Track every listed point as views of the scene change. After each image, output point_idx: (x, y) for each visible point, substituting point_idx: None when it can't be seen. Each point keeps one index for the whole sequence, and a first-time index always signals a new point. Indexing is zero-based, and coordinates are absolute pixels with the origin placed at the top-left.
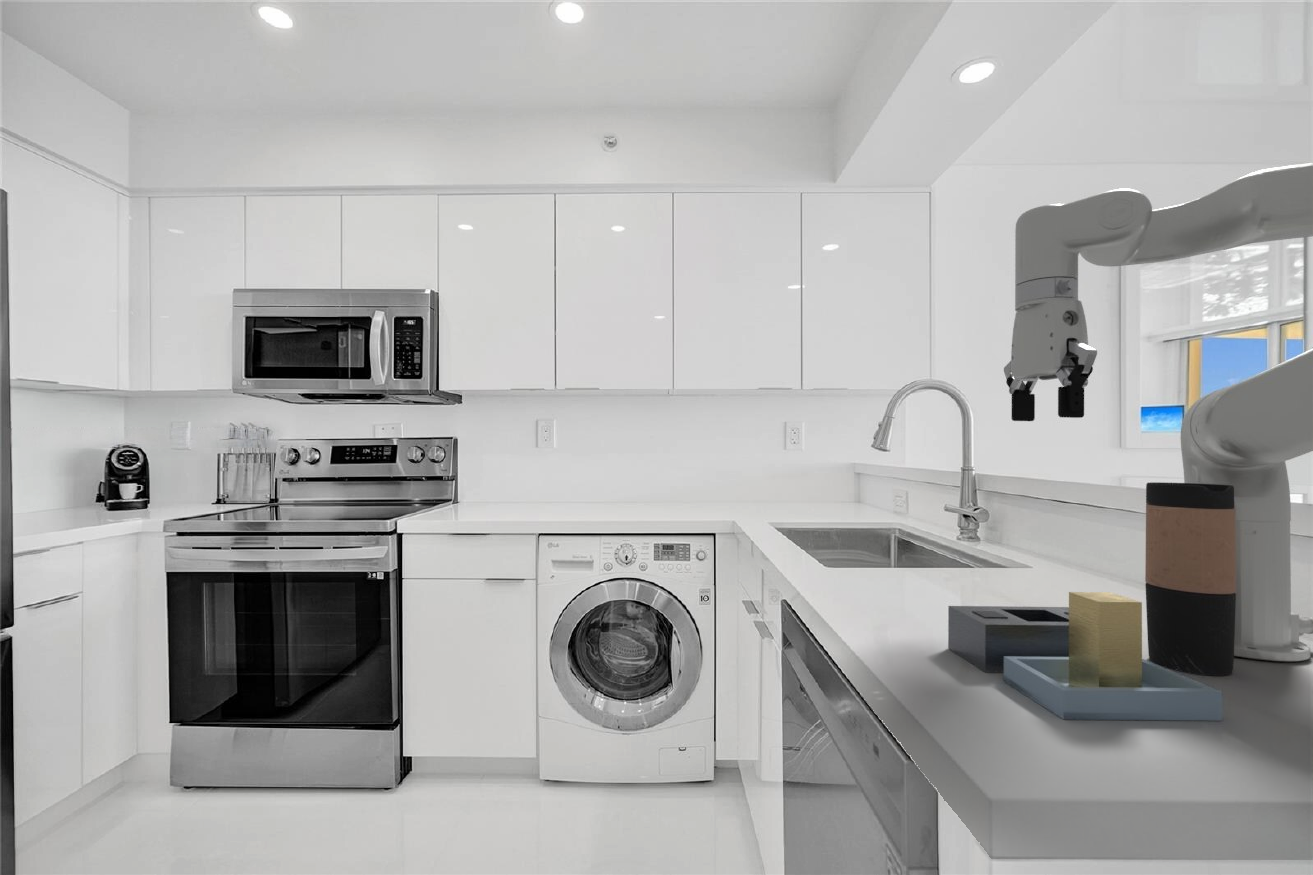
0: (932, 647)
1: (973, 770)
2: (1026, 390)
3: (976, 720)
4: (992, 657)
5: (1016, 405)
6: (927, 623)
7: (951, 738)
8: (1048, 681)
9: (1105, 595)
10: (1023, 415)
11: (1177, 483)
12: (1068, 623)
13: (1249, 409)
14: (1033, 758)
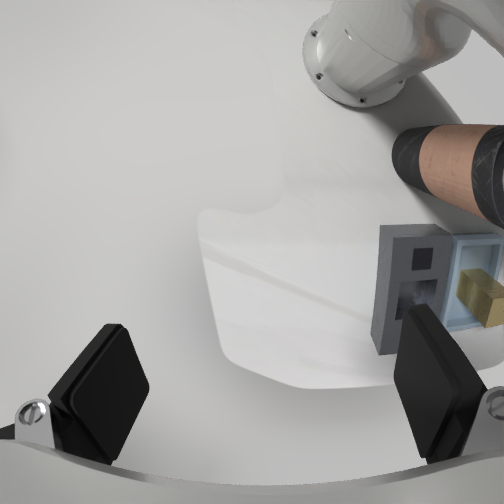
0: (366, 343)
1: (492, 365)
2: (71, 441)
3: (467, 354)
4: None
5: (129, 425)
6: (294, 324)
7: (475, 367)
8: (476, 326)
9: (497, 308)
10: (134, 376)
11: (496, 154)
12: (440, 287)
13: None
14: (495, 344)
